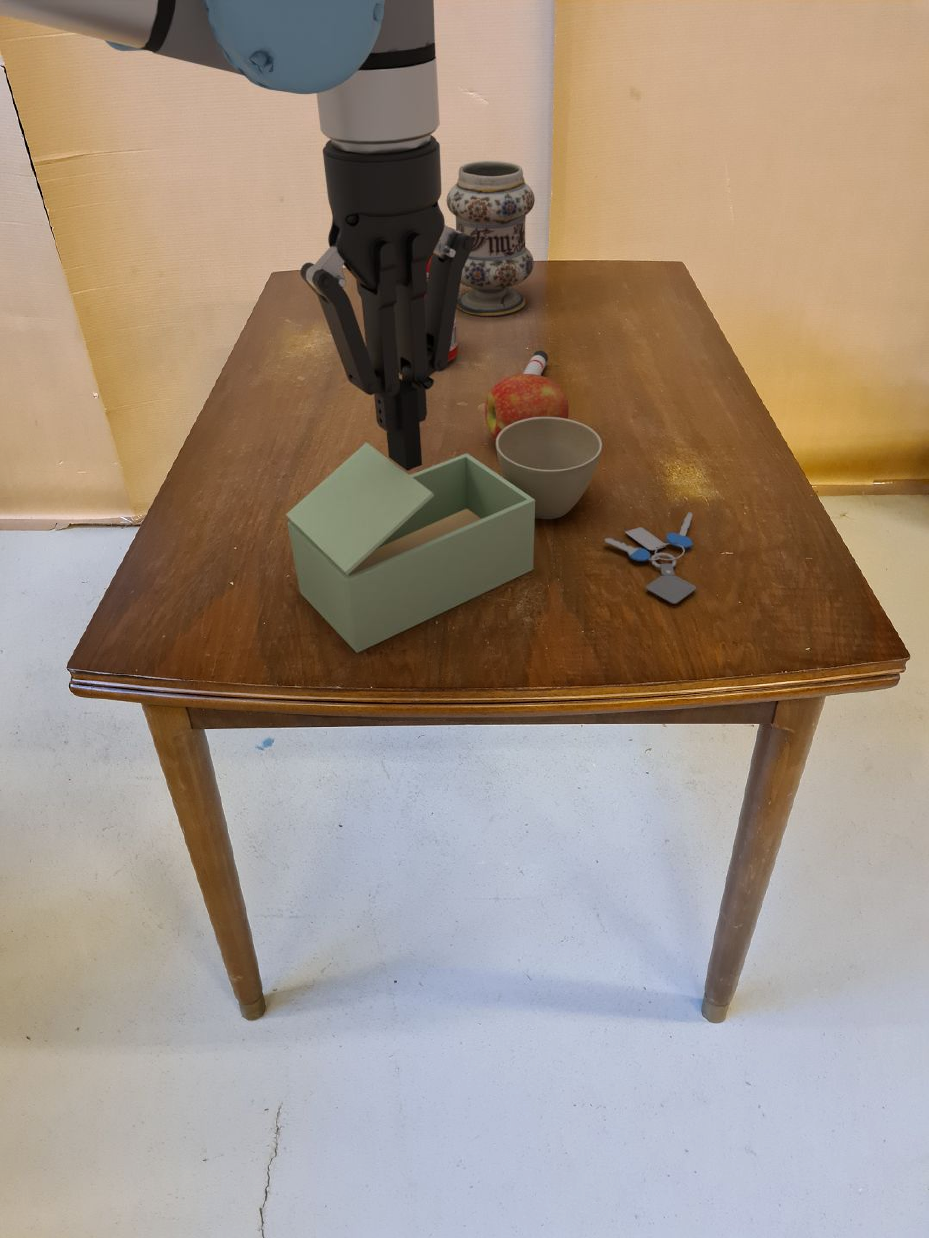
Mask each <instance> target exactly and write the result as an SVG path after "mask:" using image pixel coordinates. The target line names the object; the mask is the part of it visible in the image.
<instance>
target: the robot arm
mask: <svg viewBox="0 0 929 1238" xmlns="http://www.w3.org/2000/svg"><path fill="white" fill-rule="evenodd" d="M434 3H435V2H434V0H0V16H1V17H2V16H3V17H7V18H10V19H14V20H19V21H23V22H27V23H31V24H35V25H39V26H44V27H47V28H52V29H57V30H59V31H65V32H69V33H73V34H77V35H82V36H86V37H89V38H92V39H93V38H94V39H97V40H103V41H104V42H105V43H106V44H107V45H108V46H109V47H111V48H112V49H114V50H116V51H120V52H138V51H139V52H140V51H148V52H151V53H152V54H155V55H159V56H163V57H167V58H171V59H175V60H180V61H182V62H186V63H187V62H188V63H192V64H195V65H200V66H204V67H208V68H212V69H217V70H220V71H225V72H229V73H232V74H233V73H234V74H235V75H236V74H237V75H240V76H244V78H246V79H247V80H248V81H249V82H250V83H252V84H253V85H256V86H258V87H260V88H263V89H266V90H269V91H270V90H271V91H274V92H275V91H276V92H283V93H290V94H296V95H313V94H316V101H317V110H318V119H319V127H320V128H319V129H320V132H321V133H322V134H323V135H324V136H325V137H326V138H327V139H329V140H327V142H326V143H325V146H323V148H322V156H323V164H324V165H323V166H324V167H323V168H324V174H325V183H326V184H325V185H326V193H327V201H328V204H329V207H330V211H331V217H332V219H331V220H332V221H331V225H330V230H329V232H328V237H327V241H328V242H327V243H328V246H329V248H328V249H327V250H326V251H324V253H323V254H322V256H320V258H319V259H318V260H317V261H316V262H315V263H312V262H305V263H304V264H303V265H302V266H301V268H300V277H301V278H302V280H303V281H304V282H305V283H306V284H307V286H309V288H310V289H311V290H312V291H313V293H314V294H315V295H316V296H317V298H318V301H319V304H320V307H321V309H322V313H323V315H324V318H325V320H326V324H327V325H328V328H329V331H330V334H331V337H332V339H333V343H334V345H335V347H336V350H337V353H338V355H339V359H340V361H341V364H342V366H343V369H344V373H345V375H346V377H347V380H348V382H349V383H351V384H352V385H354V386H355V387H356V388H358V389H359V390H360V391H362V392H364V393H365V394H366V395H368V396H369V395H370V396H372V395H373V399H374V408H375V418H376V423H377V425H378V426H379V428H381V429H382V430H383V431H385V432H386V443H387V454H388V459H390V460H391V461H392V462H394V463H395V464H396V465H398V466H399V467H400V468H401V469H403V470H404V471H405V472H406V471H410V470H413V469H416V468H418V467H421V466H423V458H422V457H423V456H422V443H421V442H422V440H421V439H422V438H421V425H420V423H421V422H424V421H426V418H427V415H428V407H427V406H428V405H427V391H428V390H430V389H431V388H432V387H433V386H434V383H435V379H434V378H432V377H431V375H433V374H434V373H436V372H439V373H440V372H443V371H444V370H446V368H447V366H448V362H449V361H448V357H449V351H450V345H451V339H452V332H453V326H454V320H455V314H456V308H457V309H458V307H457V301H458V299H459V296H460V295H459V294H460V289H461V277H462V270H463V268H464V266H465V263H466V261H467V259H468V257H469V254H470V252H471V250H472V248H473V238H472V237H471V236H469V235H467V234H464V233H462V232H460V231H457V230H456V228H452V227H449V226H448V225H446V224H445V223H446V222H445V215H444V213H443V212H442V210H441V207H440V204H439V200H440V198H441V195H442V168H441V144H440V142H439V141H437V138H436V137H435V136H433V135H432V134H433V133H435V132H436V130H437V129H438V128H439V126H440V125H441V124H440V123H441V122H440V104H439V103H440V102H439V87H438V86H439V85H438V84H439V83H438V65H437V56H436V55H437V53H436V35H435V33H436V32H435V30H436V29H435V4H434ZM431 256H432V258H431ZM430 258H431V262H430V267H429V274H428V281H427V269H426V267H427V265H428V263H429V260H430ZM343 267H345V268H346V270H347V271H348V272H349V273H350V274H351V275H352V276H353V278H354V279H355V283H356V291H357V293H358V295H359V297H360V300H361V309H362V310H361V311H362V319H363V329H364V337H363V334H362V332H361V328H360V325H359V322H358V319H357V316H356V314H355V309H354V308H353V304H352V302H351V300H350V297H349V295H348V294H347V292H346V290H345V289H344V288H345V287H346V285H347V280H346V276H345V274H344V271H343ZM424 296H425V302H424ZM364 339H365V340H364ZM400 375H401V378H400Z"/></svg>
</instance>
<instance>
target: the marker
mask: <svg viewBox="0 0 929 1238" xmlns="http://www.w3.org/2000/svg"><path fill="white" fill-rule="evenodd" d="M548 361H549V356H548V354H547V353H546V352H545V350H541V349H540V350H536V351H535V352H533V355H532V357H531V358H530V359H529V362H528V363H527V365H526V367H525V369H524V371H523V372H522V374H535V375H540V376H542V373H543V371H544V370H545V368H546V365H547V363H548Z"/></svg>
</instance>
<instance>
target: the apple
mask: <svg viewBox="0 0 929 1238" xmlns="http://www.w3.org/2000/svg"><path fill="white" fill-rule="evenodd" d="M569 411H570V410H569V401H568V398H567V396H566V394H565V392H564V390H563V389H562V387H561V386H560V385H559V384H558V383H556V382H555V381H553V380H552V379H550V378H548V377H546V376H543V375H535V374H523V373H521V374H514V375H511V376H509V377H506V378H505V377H504V378H503V379H501V380H500V381H498V382H497V383H496V384H495V385H493V387H492V388H491V389H490V391H488V395H487V397H486V401H485V404H484V416H485V422H486V425H487V427H488V430H489V432H490V434H491V436H492V437H493V439H494V440H495V441H496V438H497V436H498V434H499V433H500V432H501V431H502V430H503V429H504V428H505V427H507V426H509V425H510V424H512V423H515V422H517V421H520V420H524V419H528V418H534V417H558V418H565V419H569Z"/></svg>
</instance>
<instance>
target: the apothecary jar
mask: <svg viewBox="0 0 929 1238" xmlns="http://www.w3.org/2000/svg"><path fill="white" fill-rule="evenodd" d="M535 201H536V199H535V193H534V191H533V189H532V188H531V187H530V186H529V185H528V184H527V183H526V182H525V177H524V171H523V167H522V166H521V165H519V164H516V163H513V162H510V161H509V162H507V161H501V160H478V161H473V162H468V163H465V164H463V165H461V166H460V167H459V169H458V177H457V182H456V183H455V184H454V185H453V186H452V187H451V188H450V190H449V191H448V193H447V196H446V206H447V208H448V210H449V212H450V213H451V214H452V215H454V217H455V230H457V231H460V232H462V233H464V234H467V235H469V236H471V237H472V238H473V248H472V250H471V252H470V254H469V257H468V259H467V261H466V263H465V266H464V268H463V270H462V277H461V283H460V285H463V286H465V287H467V288H469V289H471V290H468V291H466V292H465V293H463V294H462V295H459V297H458V301H457V309H458V310H460V311H462V312H463V313H466V314H469V315H472V316H479V317H499V316H507V315H510V314H514V313H516V312H519V311H520V310H521V309H523V308H524V306H525V305H526V298H525V297H524V295H522V293H520V292H518V291H516V290H514V289H510V288H512V287H515V286H517V285H519V284H521V283H523V282H524V281H526V280H527V278H529V276H530V275H531V273H532V272H533V269H534V264H535V262H534V257H533V254H532V253H531V251H530V250H529V249H528V248H527V246H526V217H527V215H528V214H529V213H530V212H531V211H532V210H533V208H534V206H535Z"/></svg>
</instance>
